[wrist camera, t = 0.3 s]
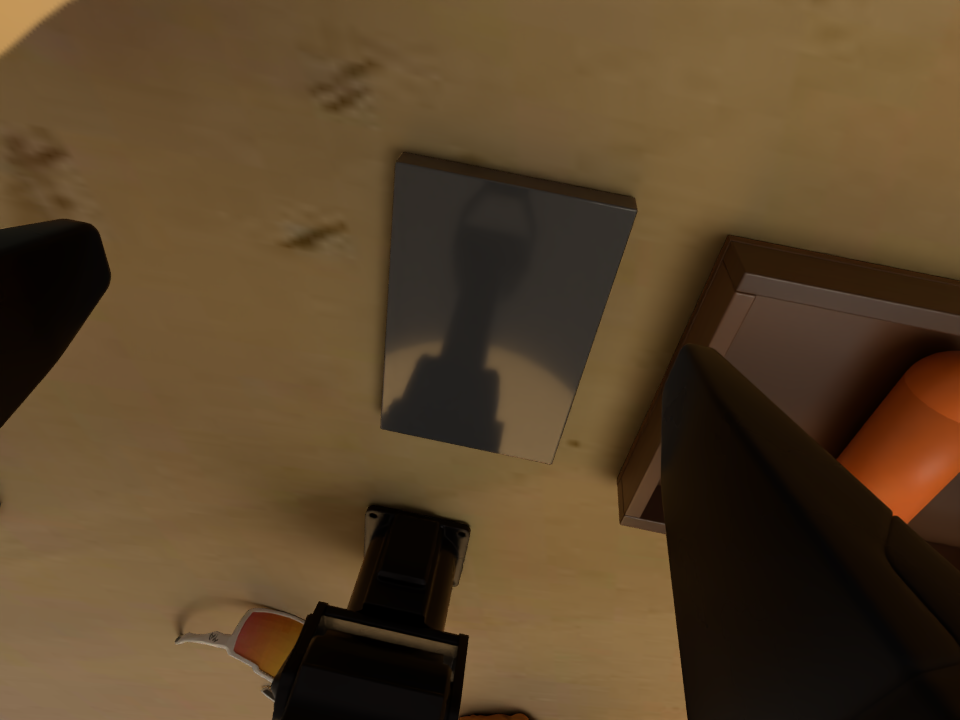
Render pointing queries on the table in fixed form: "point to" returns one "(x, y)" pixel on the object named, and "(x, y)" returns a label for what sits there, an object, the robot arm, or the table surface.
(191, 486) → the table surface
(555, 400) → the slate board
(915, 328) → the tray
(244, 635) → the sunglasses
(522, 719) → the coffee package
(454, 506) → the table surface
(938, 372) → the orange capsule
